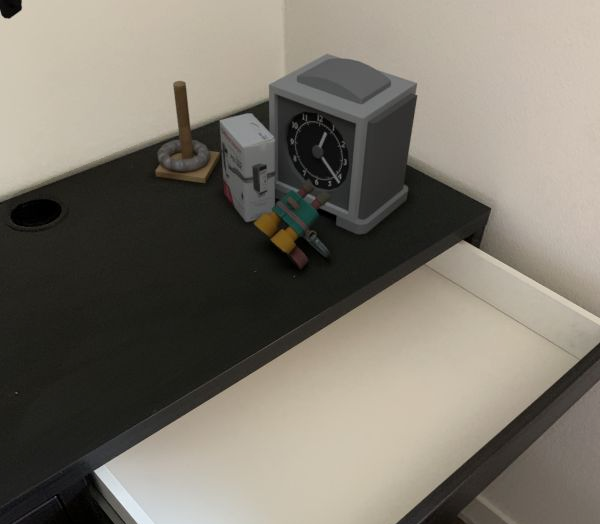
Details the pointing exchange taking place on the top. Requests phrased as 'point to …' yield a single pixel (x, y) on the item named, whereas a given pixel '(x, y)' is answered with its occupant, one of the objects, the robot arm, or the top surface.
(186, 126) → the stand
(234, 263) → the top surface
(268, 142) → the ink box
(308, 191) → the teal and yellow figure
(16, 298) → the top surface
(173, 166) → the ring
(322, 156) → the alarm clock
